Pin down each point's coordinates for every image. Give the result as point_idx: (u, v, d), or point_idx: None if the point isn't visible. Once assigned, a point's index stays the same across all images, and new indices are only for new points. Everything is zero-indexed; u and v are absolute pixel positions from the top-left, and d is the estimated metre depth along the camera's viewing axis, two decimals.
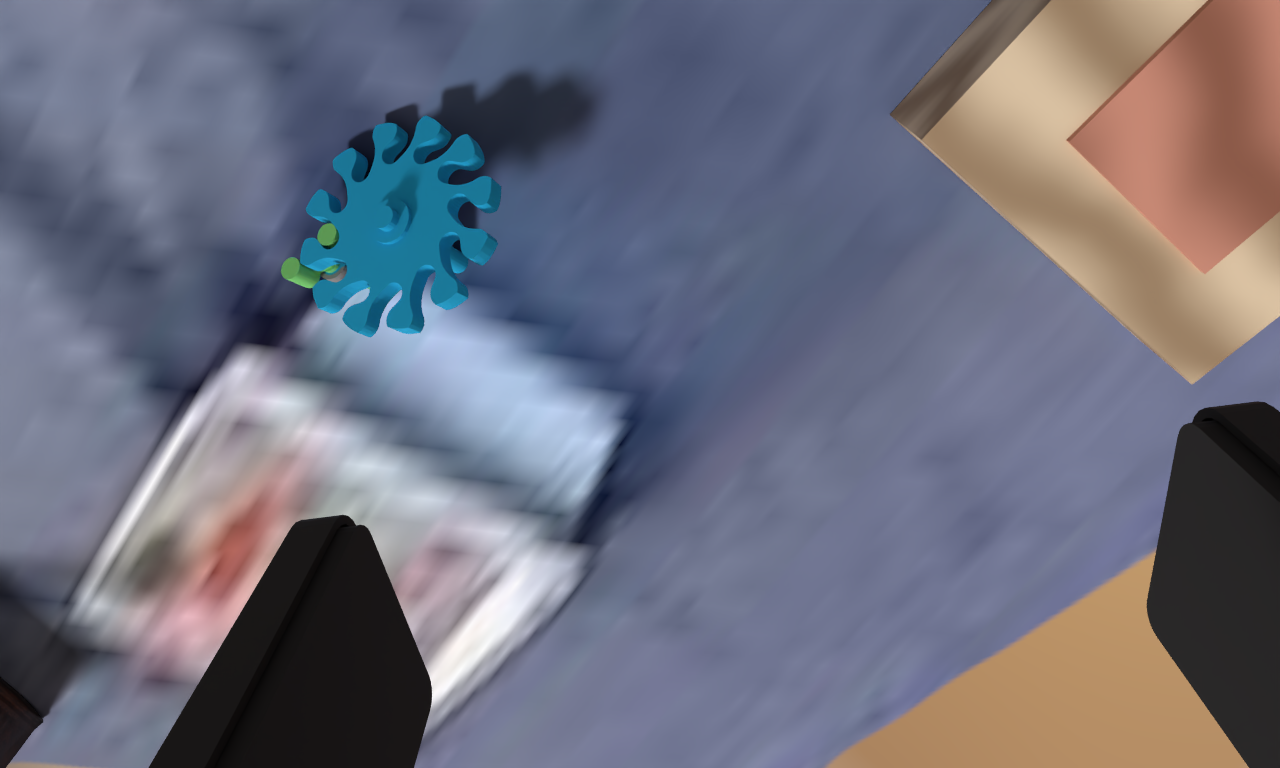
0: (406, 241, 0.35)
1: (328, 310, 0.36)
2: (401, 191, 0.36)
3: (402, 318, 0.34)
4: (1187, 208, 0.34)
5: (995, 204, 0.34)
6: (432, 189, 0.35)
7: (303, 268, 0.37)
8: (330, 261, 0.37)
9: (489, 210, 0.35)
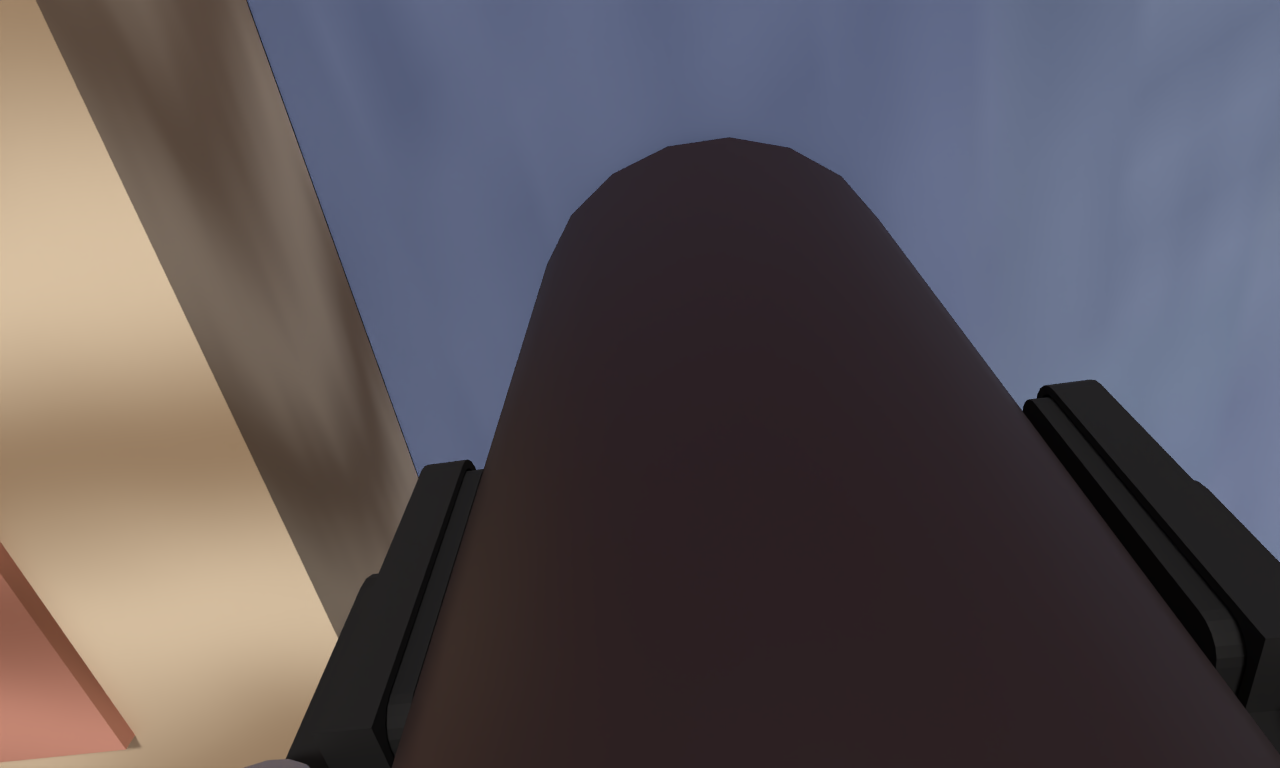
0: None
1: None
2: None
3: None
4: None
5: None
6: None
7: None
8: None
9: None
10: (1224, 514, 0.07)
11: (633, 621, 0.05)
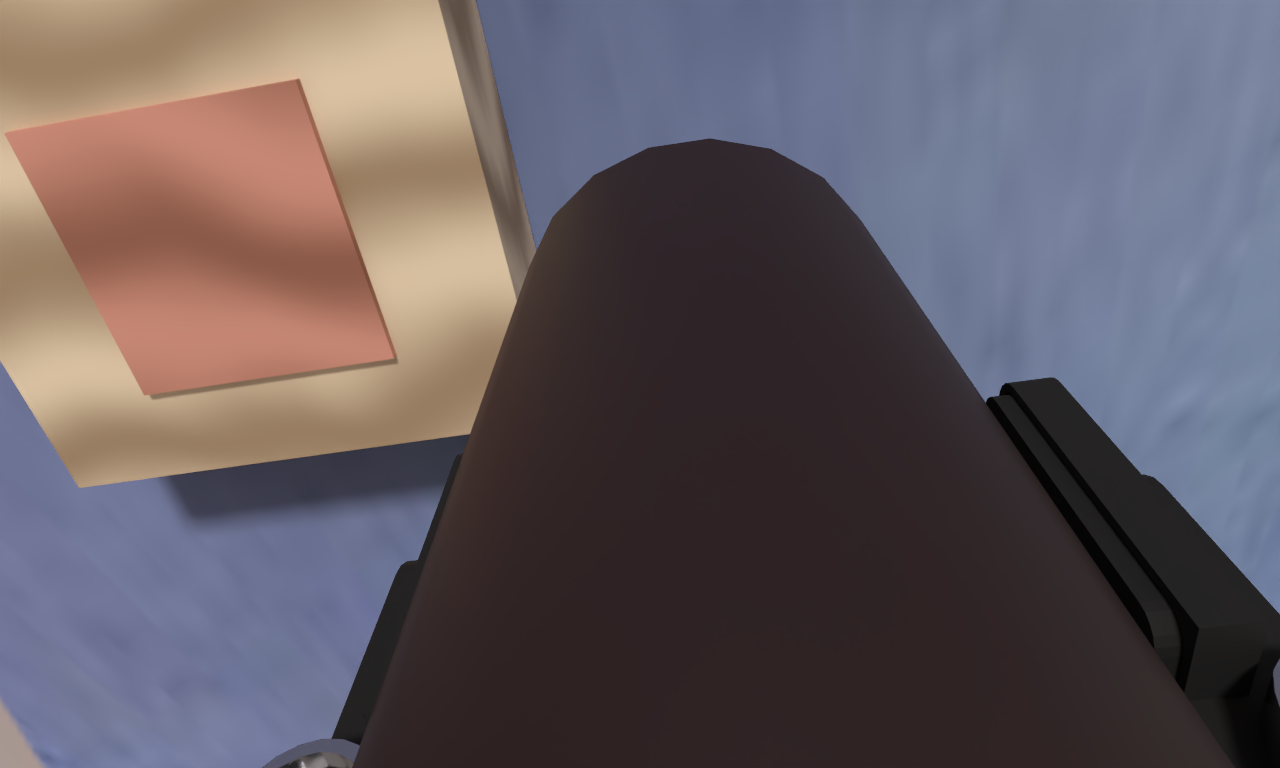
0: None
1: None
2: None
3: None
4: (120, 158, 0.24)
5: None
6: None
7: None
8: None
9: None
10: (1169, 508, 0.07)
11: (579, 632, 0.05)
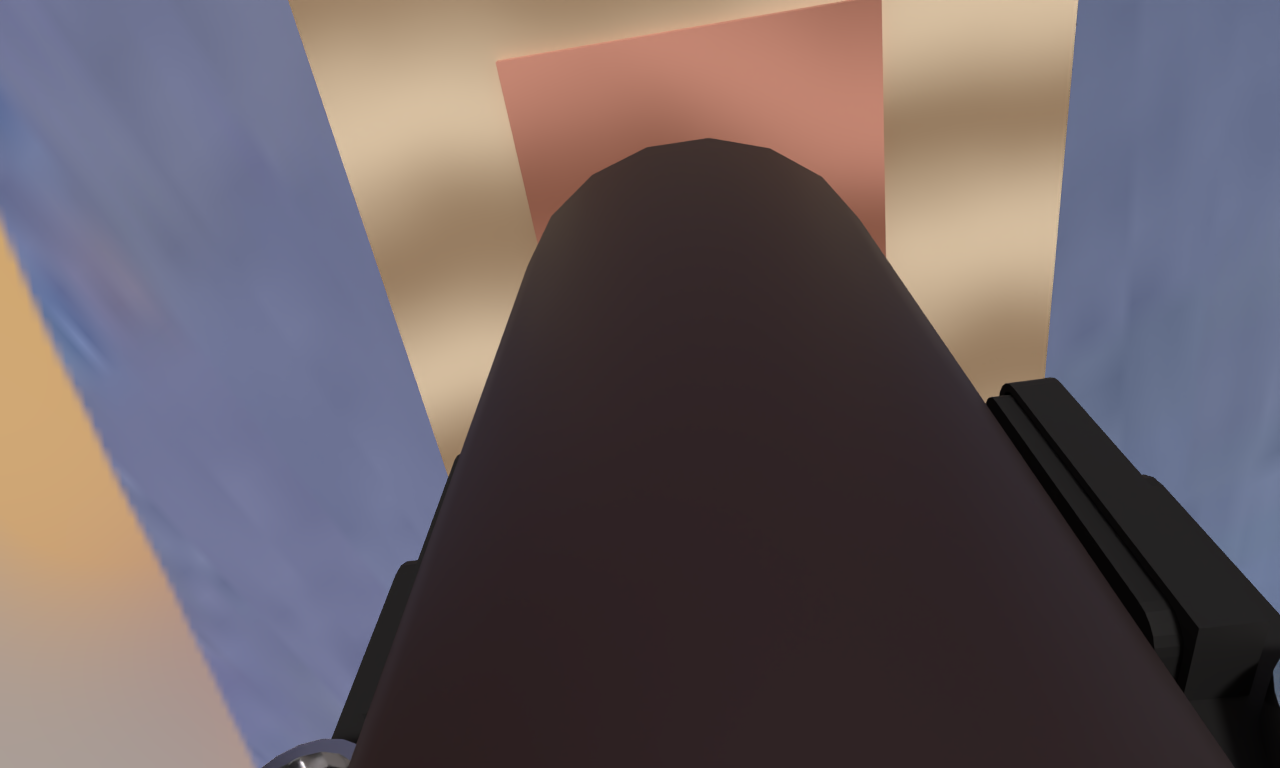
0: None
1: None
2: None
3: None
4: (631, 95, 0.20)
5: None
6: None
7: None
8: None
9: None
10: (1169, 508, 0.07)
11: (573, 635, 0.05)
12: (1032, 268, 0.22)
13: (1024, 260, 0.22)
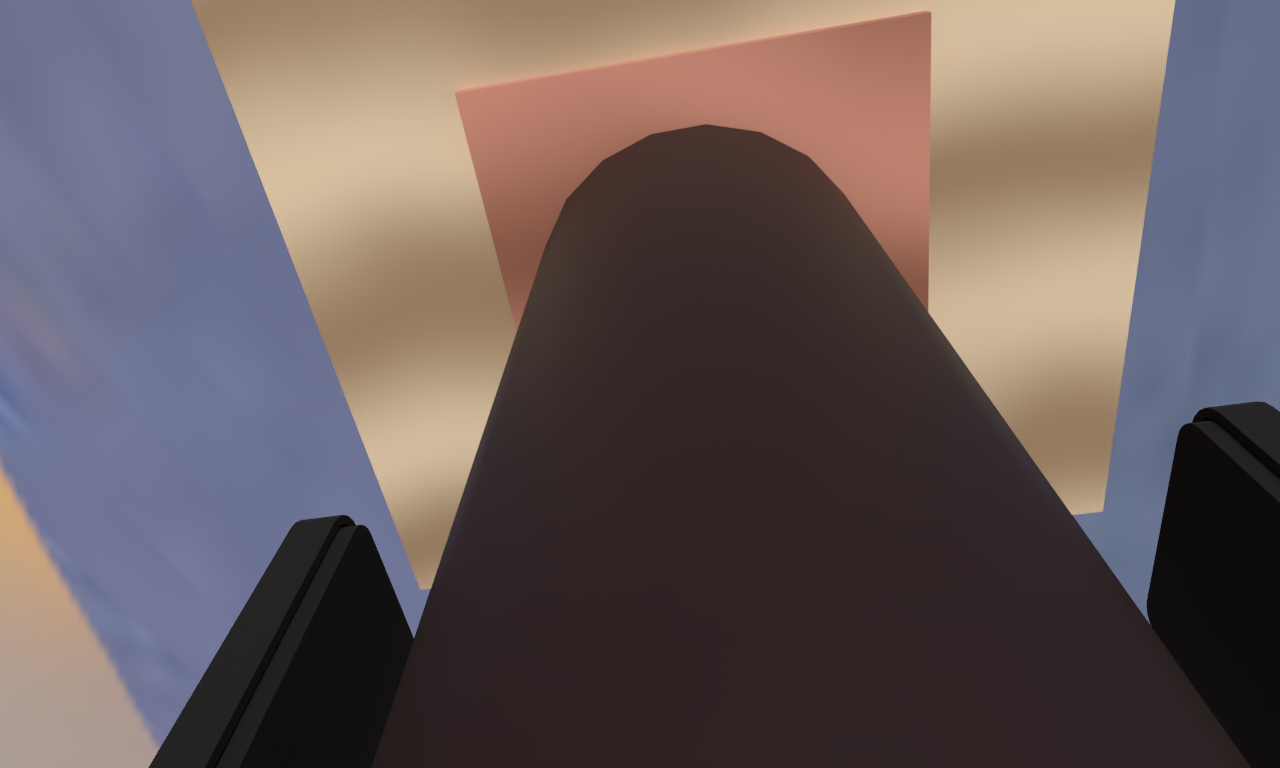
0: None
1: None
2: None
3: None
4: (621, 133, 0.16)
5: None
6: None
7: None
8: None
9: None
10: None
11: (602, 472, 0.06)
12: (1101, 334, 0.18)
13: (1092, 325, 0.18)
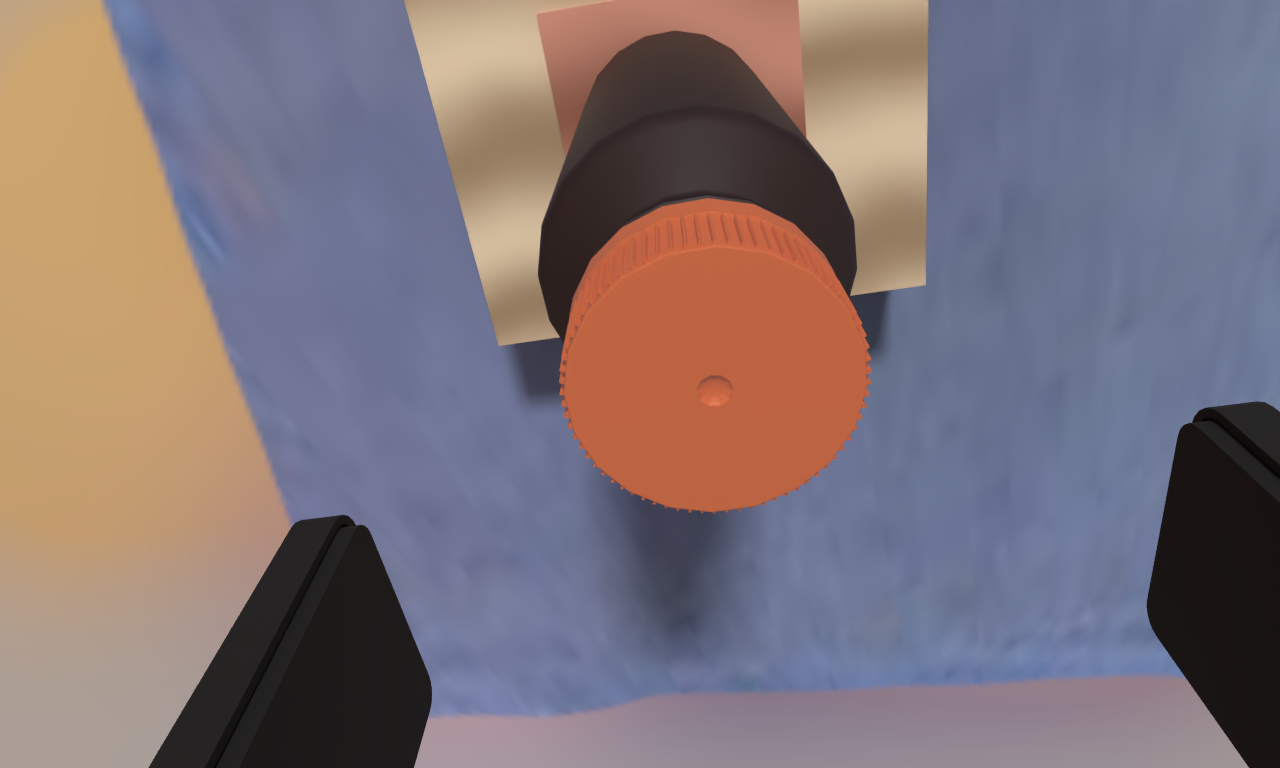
0: None
1: None
2: None
3: None
4: (628, 37, 0.29)
5: None
6: None
7: None
8: None
9: None
10: None
11: (629, 95, 0.19)
12: (911, 163, 0.31)
13: (905, 157, 0.31)
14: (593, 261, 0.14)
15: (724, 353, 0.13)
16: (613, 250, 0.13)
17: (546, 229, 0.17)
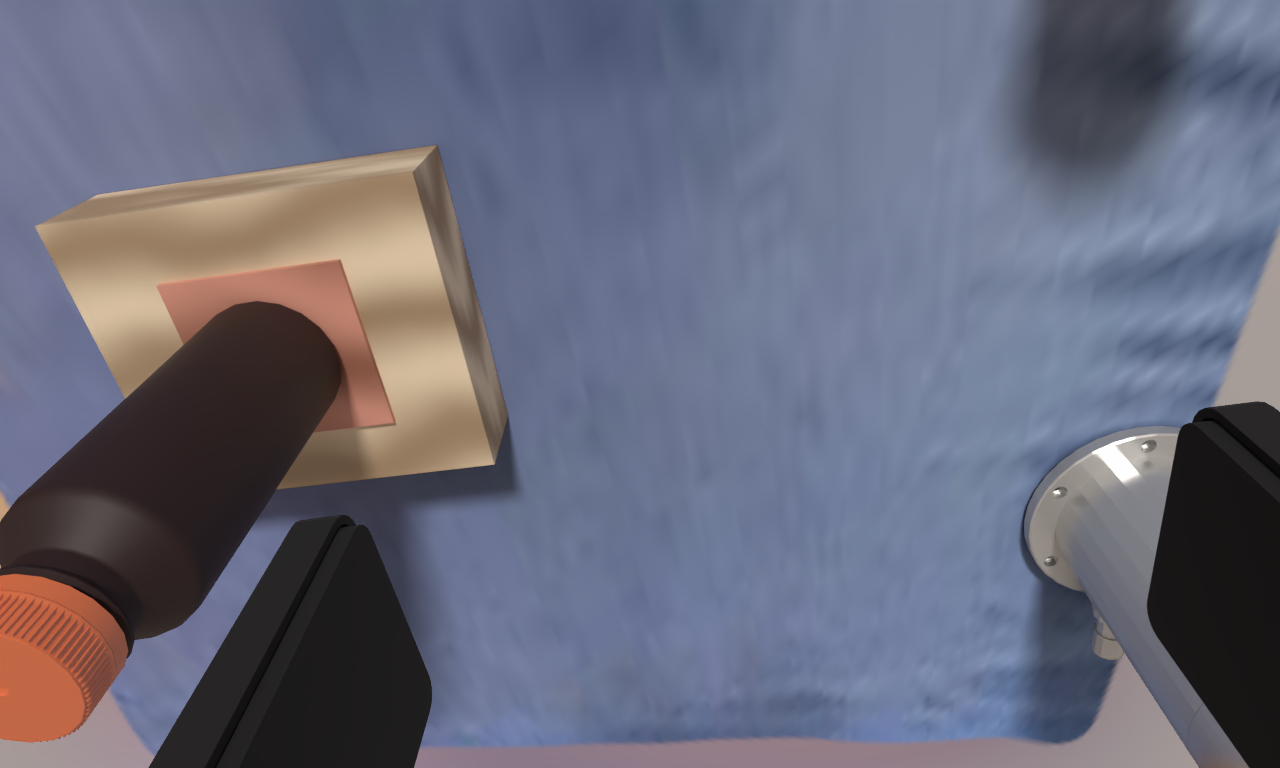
0: None
1: None
2: None
3: None
4: (227, 301, 0.40)
5: (319, 187, 0.37)
6: None
7: None
8: None
9: None
10: None
11: (92, 434, 0.30)
12: (460, 383, 0.42)
13: (455, 380, 0.42)
14: None
15: None
16: None
17: None
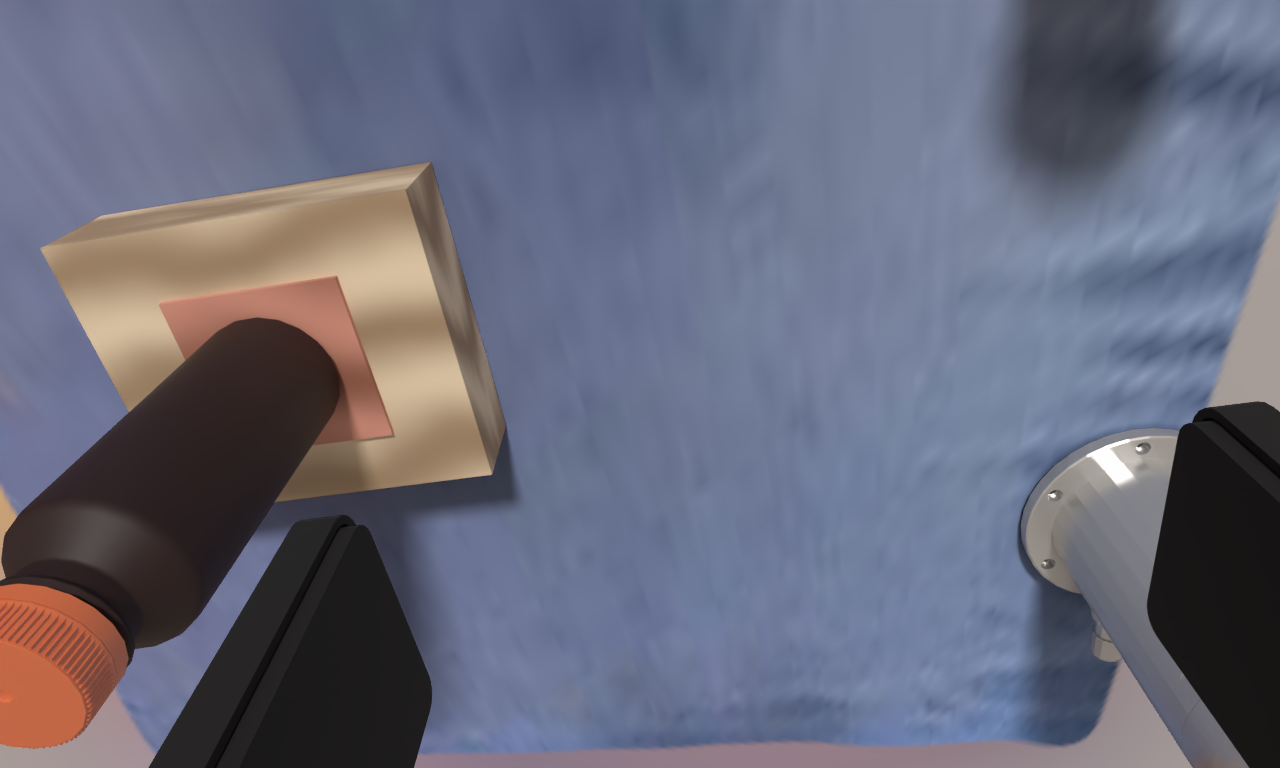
0: None
1: None
2: None
3: None
4: (227, 318, 0.40)
5: (315, 206, 0.38)
6: None
7: None
8: None
9: None
10: None
11: (95, 448, 0.31)
12: (457, 396, 0.43)
13: (451, 392, 0.43)
14: None
15: None
16: None
17: None
